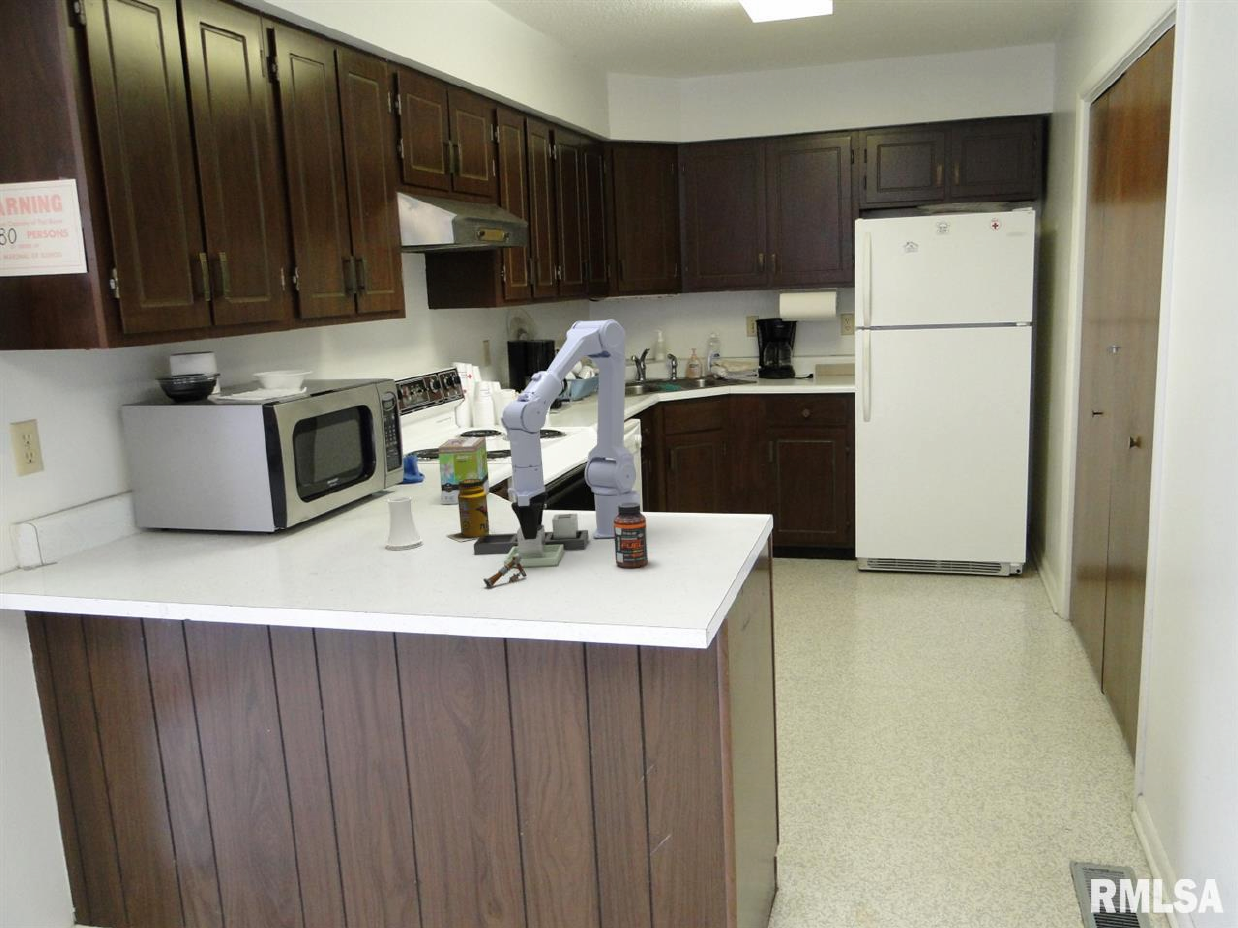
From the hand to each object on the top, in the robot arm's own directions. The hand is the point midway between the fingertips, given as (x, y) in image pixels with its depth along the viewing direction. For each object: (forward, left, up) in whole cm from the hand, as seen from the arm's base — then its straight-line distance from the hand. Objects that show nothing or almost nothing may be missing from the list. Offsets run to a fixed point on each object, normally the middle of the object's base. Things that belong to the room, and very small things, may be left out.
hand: (532, 535), depth 188 cm
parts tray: (0, 0, -5) cm, 5 cm away
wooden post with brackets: (+3, +14, -5) cm, 16 cm away
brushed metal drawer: (-5, -10, -5) cm, 12 cm away
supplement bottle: (-19, +6, -5) cm, 21 cm away
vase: (+30, -16, -5) cm, 34 cm away
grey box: (0, 0, -5) cm, 5 cm away
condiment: (+17, -22, -5) cm, 28 cm away
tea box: (+27, -63, -5) cm, 69 cm away
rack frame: (+2, -10, -5) cm, 11 cm away
